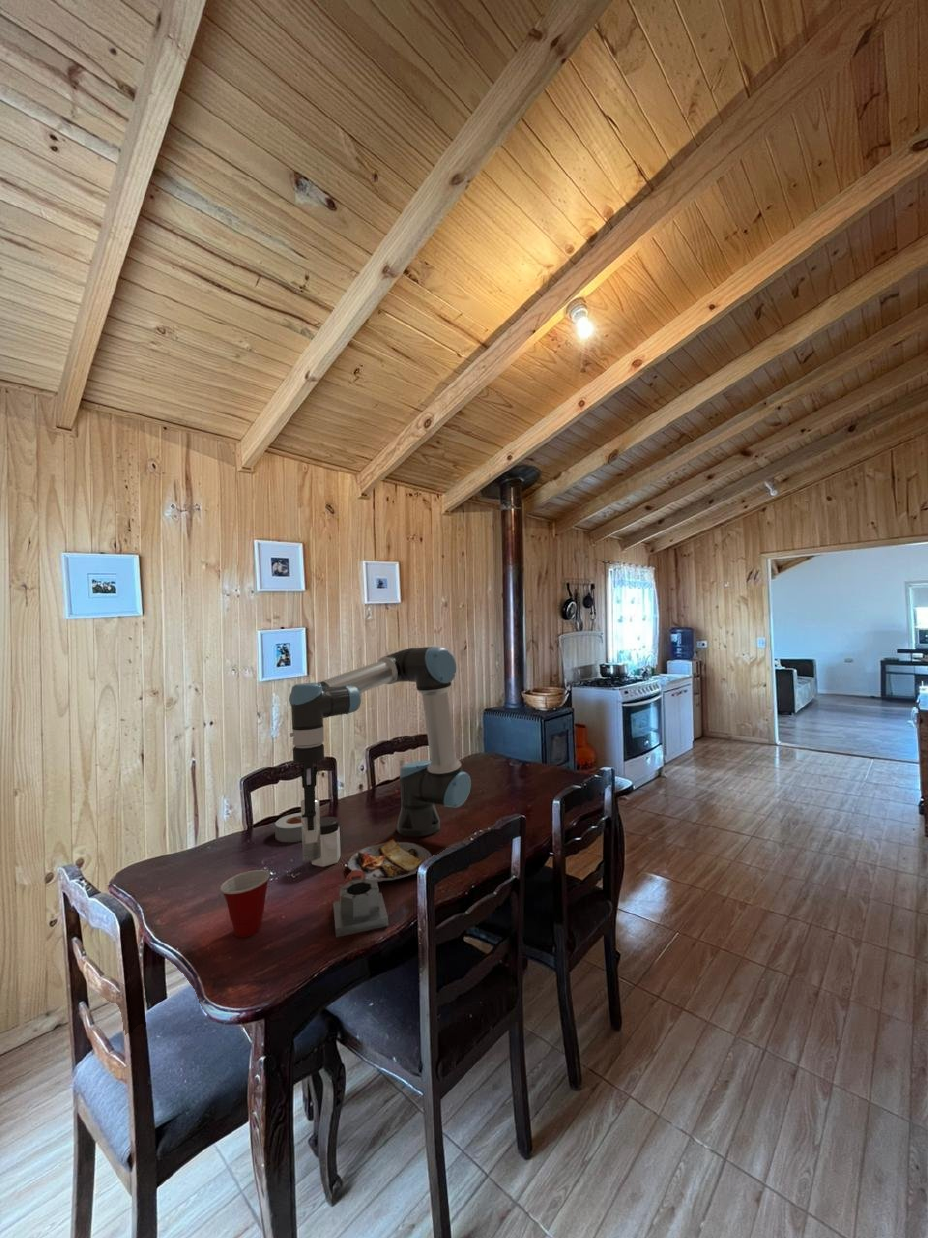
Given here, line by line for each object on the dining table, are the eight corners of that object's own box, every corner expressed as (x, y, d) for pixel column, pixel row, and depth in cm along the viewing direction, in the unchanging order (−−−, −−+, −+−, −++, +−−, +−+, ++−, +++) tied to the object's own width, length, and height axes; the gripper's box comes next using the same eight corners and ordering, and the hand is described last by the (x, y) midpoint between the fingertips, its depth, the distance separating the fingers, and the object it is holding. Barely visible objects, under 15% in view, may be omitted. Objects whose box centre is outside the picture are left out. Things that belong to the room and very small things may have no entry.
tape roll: (265, 841, 169) (265, 826, 169) (293, 824, 183) (292, 810, 183) (303, 844, 164) (303, 829, 164) (328, 827, 179) (328, 813, 179)
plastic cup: (240, 916, 122) (239, 867, 122) (280, 918, 120) (278, 868, 120) (211, 943, 111) (209, 889, 111) (254, 946, 109) (252, 891, 110)
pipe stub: (321, 852, 125) (319, 796, 125) (321, 859, 120) (319, 802, 121) (303, 855, 123) (301, 799, 124) (302, 862, 119) (300, 804, 120)
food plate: (336, 862, 149) (336, 851, 149) (403, 841, 162) (403, 831, 163) (372, 897, 129) (372, 884, 129) (445, 870, 142) (444, 858, 142)
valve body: (379, 892, 130) (378, 865, 130) (388, 926, 114) (387, 895, 115) (333, 901, 126) (332, 874, 127) (335, 937, 111) (334, 906, 111)
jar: (315, 869, 145) (314, 829, 145) (308, 860, 151) (306, 821, 152) (344, 861, 150) (343, 821, 150) (336, 852, 156) (334, 814, 157)
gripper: (294, 739, 130) (297, 828, 129) (290, 753, 113) (294, 855, 113) (323, 736, 132) (326, 823, 131) (324, 750, 116) (327, 850, 115)
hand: (311, 838), depth 122 cm, fingers closed on pipe stub, 4 cm apart
